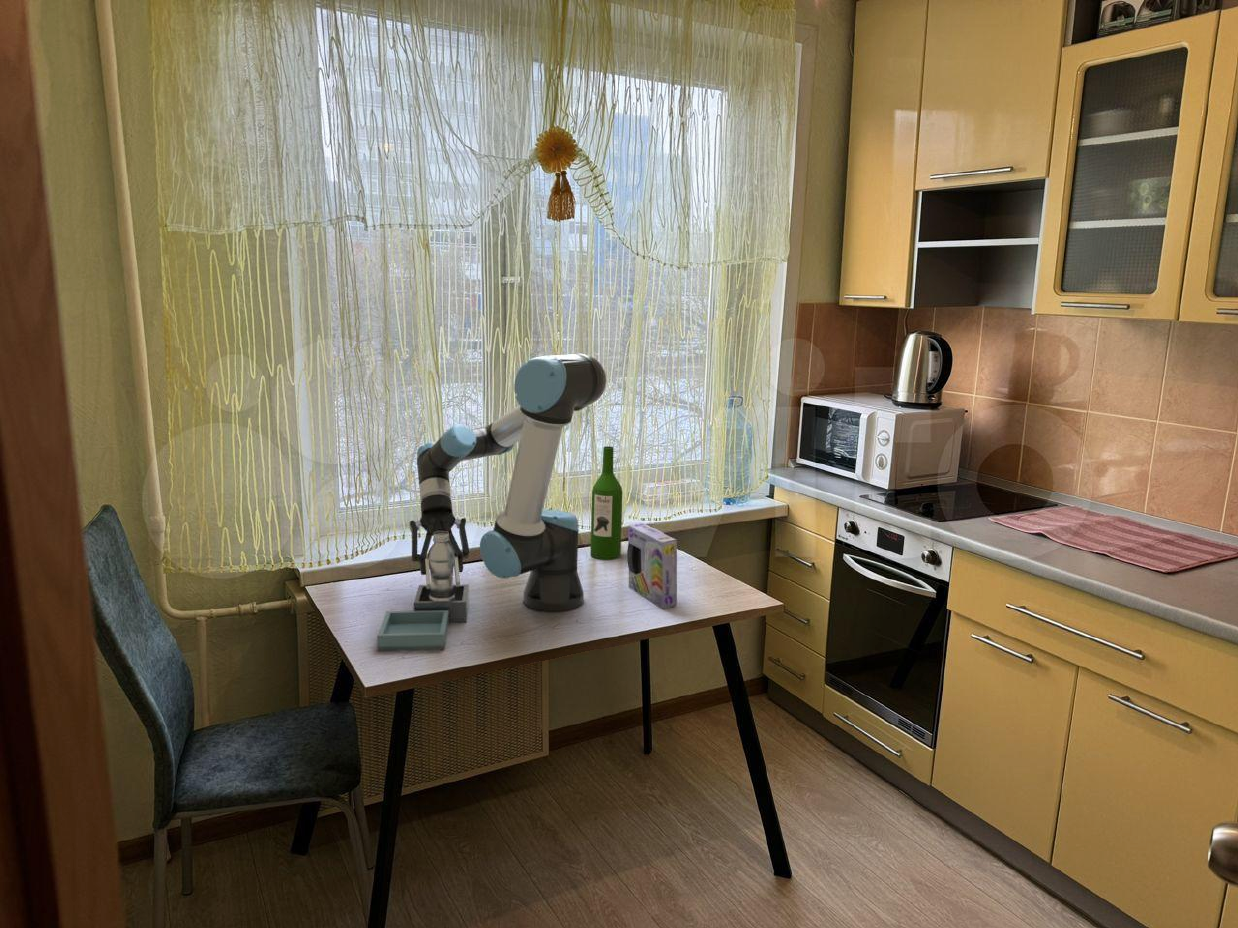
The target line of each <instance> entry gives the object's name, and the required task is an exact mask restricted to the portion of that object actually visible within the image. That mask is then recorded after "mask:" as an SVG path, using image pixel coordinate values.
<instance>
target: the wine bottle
mask: <svg viewBox="0 0 1238 928" xmlns="http://www.w3.org/2000/svg"><path fill="white" fill-rule="evenodd" d="M622 487H623V486H621V484H620V482H619V480H618V479H617V477H616V476H615V473H614V447H613V446H611V445H610V446H603V449H602V470H601V474H600V475H599V477H598V478H597V480H596V481H595V483H594V485H593V487H592V490H591V514H590V515H591V516H590V517H591V518H590V556H591V558H593V559H596V560H600V561H601V560H602V561H612V560H617V559H619V558H620V557H621V554H622V549H621V548H622V524H623V523H622V518H623V517H622V516H623V488H622Z"/></svg>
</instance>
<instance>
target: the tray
mask: <svg viewBox="0 0 1238 928" xmlns="http://www.w3.org/2000/svg"><path fill="white" fill-rule="evenodd" d="M449 626H450V623H449V610H434V611H414V610H395V611H394V610H391V611H390V610H386V612H385V614H384V617H383V620H382V622H381V625H380V628H379V630H378V634H377V651H378V652H393V651H395V652H398V651H399V650H405V651H434V650H435V651H437V650H436V649H444V650H445V647H446V643H447V642H446V641H447V636H448V630H449Z"/></svg>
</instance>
